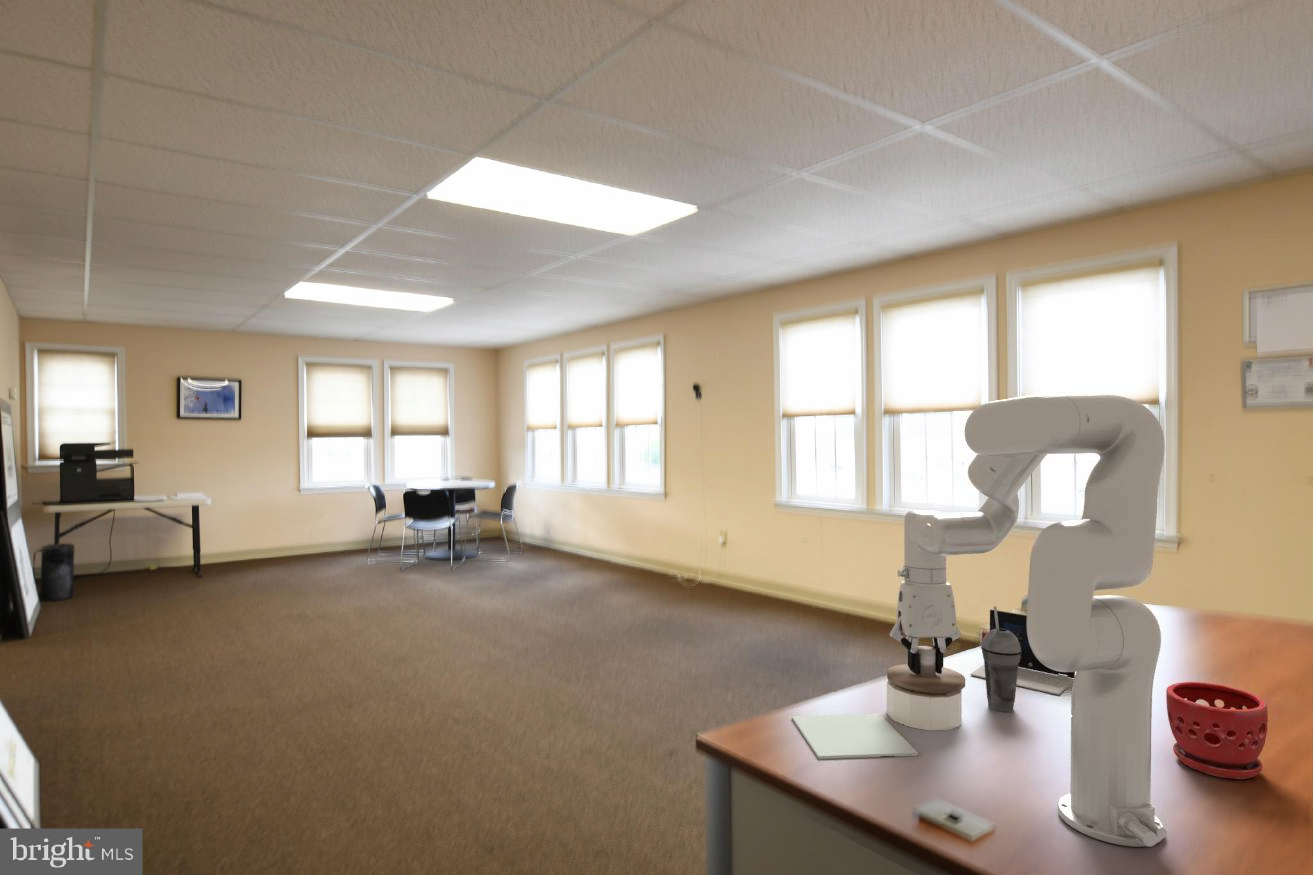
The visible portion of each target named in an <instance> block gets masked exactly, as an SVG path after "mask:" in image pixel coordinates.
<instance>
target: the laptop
mask: <svg viewBox="0 0 1313 875" xmlns="http://www.w3.org/2000/svg"><path fill="white" fill-rule="evenodd" d="M997 616H998V624H999V628H1002V629H1006V630H1008V631H1010V632H1012V633H1013V634H1014V635H1015V636H1016V637H1017V639H1018V641H1019V644H1020V647H1021V652H1022V653H1021V657H1020V661H1019V664H1018V673H1017V683H1016V687H1019V686H1021V687H1020V688H1023V687H1024V688H1023V689H1028V688H1029V690H1033V691H1036V690H1037V691H1038V692H1041V693H1046V694H1050V695H1055V696H1057V695H1059V696H1060V695H1061V694H1062V693H1063V692H1064V691H1066V690H1067V689H1068V688H1069V687H1071V686H1073V681H1074V678H1075V675H1076V672H1060V671H1055V670H1052V669H1050V668H1048V667H1046V666H1045V665H1043V664H1042V663H1041V662H1040V661H1039V660H1038V659H1037V658H1036V656H1035V655H1034V653H1033V651H1032V649H1031V647H1030V644H1029V640H1028V635H1027V614H1022V613H1017V612H1009V611H1004V610H998V609H997ZM993 629H996V623H995V614H994V609H992V608H991V609H989V631H991V630H993ZM969 675H970V676H973V677H974V676H975V678H979V679H983V678H984V679H983V680H986V678H985V666H984V664H983V665H982V666H980V667H979V668H977V669H976V670H974V671H972V672H971V673H970V674H969ZM1037 691H1036V692H1037Z"/></svg>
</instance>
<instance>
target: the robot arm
mask: <svg viewBox="0 0 1313 875" xmlns="http://www.w3.org/2000/svg"><path fill="white" fill-rule="evenodd" d="M964 438H965V442H966V444H967V446H968V448H970V450H971V451H973V453H975V454H976V455H975V457H974V458H973V460H972V461H971V463H970V464H969V466H968V468H967V476H968V479H969V481H970V483H971V484H972V485H973V487H974V488H976V490H978V492H980V493H981V494H983V495H984V496H985V497H987V499H986V500H985V502H984V503H983V505H982V506H980V508H979V509H978V510H977V511H975V512H969V511H968V512H951V513H949V512H948V513H943V512H941V511H937V510H931V509H916V510H915V509H914V510H909V511H907V512H906V513H905V515H904V520H903V521H904V522H903V526H904V528H903V529H904V530H903V532H904V533H903V534H904V539H903V541H904V545H903V546H904V551H903V552H904V554H903V556H904V564H903V566H902V567H903V568H902V569H898V570H897V577H899V578H902V579H904V580H902V581H900V582H901V583H900V587H899V589H898V590H899V592H898V597H897V605H896V606H897V607H896V622H895V623H894V625H893V627H892V629H891V630H890V632H889V636H890V637H891V638H893V639H894V640H896V641H897V642H899V643H900V644H901V645H902V646H903V647H904V648H905V649H906V650H907V664H908V667H909V668H910V670H911V671H912V672H913V673H915V674H920V654H919V653H918V652H917V648H918V646H919V641H920V640H919V639H932V644H933V647H932V648H935V649H936V673H938V674H941V673H942V668H943V667H944V653H946V652H947V648H948V647H949V646H951V644H952V643H953V642H954V641H956V640H957V639H959V638H960V637H961V636H962V632H961V631H960V629H959V627H958V625H957V614H956V604H955V598H954V597H955V596H954V591H953V588H952V585H951V583H950V582H948V581H947V557H948V556H949V557H950V556H959V555H975V554H977V555H978V554H985V553H988V552H991V551H993V550H994V549H996V548H997V547H999V545H1000V544H1001V543H1002V542H1003V541H1004V540H1005V539H1006V537H1007V536H1008V535H1009V534H1010V533H1011V531H1012V530H1013V529H1014V527H1015V526H1016V524H1017V521H1018V519H1019V518H1018V517H1019V510H1020V500H1019V499H1020V498H1019V495H1018V492H1019V491H1020V489H1021V488H1022V487H1023V486H1024V484H1025V483H1026V482H1027V480H1028V479H1029V478H1030V477H1031V475H1032V474H1033V473H1034V472H1035V470H1036V469H1037V467H1039V465H1040V464H1041V462H1042V461H1043V460H1044V459H1045V458H1046V456H1047V455H1054V454H1055V455H1059V454H1061V455H1063V454H1064V455H1065V454H1071V455H1072V454H1096V455H1098V456H1099V457H1100V458H1099V460H1098V461H1097V463H1096V464H1095V465H1094V467H1093V468H1092V469H1091V472H1090V474H1089V476H1088V478H1087V481H1086V483H1085V488H1084V502H1083V510H1082V516H1081V519H1080V520H1079V519H1078V520H1064V521H1058V522H1055V523H1052V524H1050V525H1048V526H1046V527H1045V528H1044V529H1043V530H1041V531H1040V532H1039V534H1038V535H1037V537H1036V538H1035V541H1034V543H1033V546H1032V548H1031V552H1030V557H1029V569H1028V570H1029V572H1028V587H1027V588H1028V590H1027V603H1026V604H1027V606H1026V615H1027V635H1028V640H1029V644H1030V647H1031V649H1032V651H1033V653H1034V655H1035V656H1036V658H1037V659H1038V660H1039V661H1040V662H1041V663H1042V664H1043V665H1045V666H1046V667H1048V668H1050V669H1052V670H1055V671H1060V672H1075V678H1073V679H1074V681H1073V684H1072V685H1071V686H1072V687H1071V688H1072V689H1071V699H1070V701H1071V702H1070V704H1071V705H1070V707H1071V709H1070V791H1069V792H1070V793H1068V794H1066V795H1063V796H1062V797H1061V798H1059V800H1058V802H1057V812H1058V815H1059V817H1060V818H1061V819H1062V820H1063V821H1064V822H1065V823H1066V824H1067V825H1069V826H1070V827H1071V828H1073V829H1075V830H1076V831H1078V832H1080V833H1081V834H1084V835H1086V836H1089V837H1091V838H1093V839H1096V840H1099V841H1102V842H1106V843H1109V844H1112V845H1113V844H1114V845H1119V846H1123V847H1124V846H1125V847H1138V848H1142V847H1153V846H1155V845H1156V844H1158V843H1161V842H1162V840H1163V839H1165V838H1166V837H1167V834H1168V833H1167V830H1166V829H1165V827H1164V824H1163V822H1162V821H1161V820H1160V819H1159V818H1158V817H1157V816H1156V815H1155V814H1156V811H1155V810H1156V807H1155V806H1153V805H1152V804H1151V803H1152V802H1151V795H1152V794H1151V790H1152V789H1151V788H1152V787H1151V785H1152V784H1151V782H1152V781H1151V779H1152V778H1151V776H1152V774H1151V772H1152V770H1151V769H1152V715H1153V714H1152V712H1153V708H1152V707H1153V688H1154V680H1155V679H1154V678H1155V674H1156V668H1157V664H1158V660H1159V655H1160V652H1161V646H1162V645H1161V643H1162V633H1161V628H1160V624H1159V622H1158V619H1157V617H1156V616H1155V615H1154V613H1153V611H1151V609H1150V608H1149V607H1147V606H1146V605H1145V604H1144V603H1143V602H1141V601H1139V600H1137V599H1134V598H1132V597H1129V596H1124V595H1118V594H1117V595H1116V594H1115V595H1114V594H1107V595H1106V594H1105V595H1104V594H1103V595H1094V592H1095V591H1097V592H1098V591H1107V590H1116V589H1117V590H1118V589H1119V590H1120V589H1126V588H1127V589H1128V588H1132V587H1136V586H1138V585H1141V584H1144V583H1145V582H1146V580H1148V578H1149V577H1150V575H1151V574H1152V573H1151V572H1152V571H1153V565H1154V558H1155V556H1154V555H1155V544H1156V527H1157V518H1158V517H1157V515H1158V497H1159V496H1158V495H1159V485H1160V480H1161V473H1162V469H1163V465H1164V457H1165V449H1166V445H1165V435H1164V431H1163V428H1162V425H1161V423H1160V421H1159V420H1158V418H1157V417H1156V416H1155V414H1154V413H1153V412H1152V411H1151V410H1150V409H1149V408H1148V407H1146V406H1145V405H1144V404H1143V403H1141V402H1138V401H1136V400H1134V399H1132V398H1128V397H1125V396H1121V395H1116V394H1104V393H1037V394H1031V395H1025V396H1024V395H1023V396H1019V397H1012V398H1006V399H999V400H993V401H987V402H984V403H982V404H980V405H978V406H977V407H976V408H975V409H974V410H973V411H971V413H970V414H969V416H968V418H967V420H966V422H965V424H964ZM901 633H903V634H904V635H906V637H905V636H903V635H901Z"/></svg>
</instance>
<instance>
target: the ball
mask: <svg viewBox="0 0 1313 875" xmlns="http://www.w3.org/2000/svg"><path fill="white" fill-rule="evenodd" d="M915 693H917V694H924V695H932V693H931V692H921V691H917V692H915Z"/></svg>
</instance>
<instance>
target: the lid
mask: <svg viewBox="0 0 1313 875" xmlns="http://www.w3.org/2000/svg"><path fill="white" fill-rule="evenodd" d="M917 652H918V653H919V654H920V674H915V673H913V672H912V671H911V670H910V668H909V667H908V663H905V664H904V663H902V664H897V665H893V666H890V667H889V668H887V670H886V678H887V681H888V680H889V681H890V682H892V683H893V684H895V685H897V686H900V687H903V688H906V689H910V690H915V691H921V692H931V693H947V692H955V691H959V690H961V689H962V690H963V689H964V688H966V677H965V676H964V675H963V674H962V673H960V672H958V671H957V670H955V669H954V670H953V669H951V668H948V667H944V666H943V668H942V673H941V674H938V673H936V649H935V648H933V647H932V646H928V645H918V648H917Z"/></svg>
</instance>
